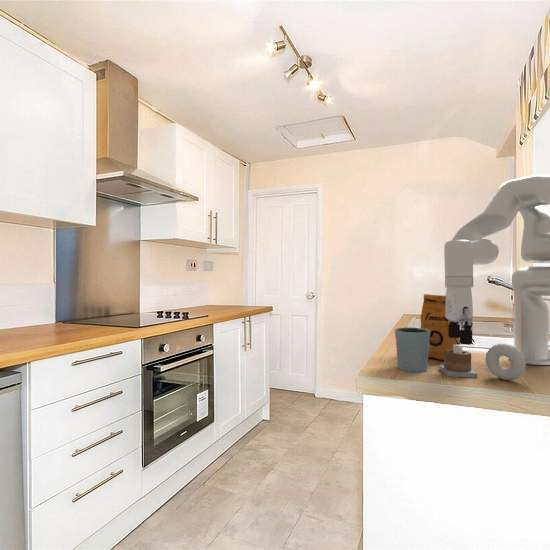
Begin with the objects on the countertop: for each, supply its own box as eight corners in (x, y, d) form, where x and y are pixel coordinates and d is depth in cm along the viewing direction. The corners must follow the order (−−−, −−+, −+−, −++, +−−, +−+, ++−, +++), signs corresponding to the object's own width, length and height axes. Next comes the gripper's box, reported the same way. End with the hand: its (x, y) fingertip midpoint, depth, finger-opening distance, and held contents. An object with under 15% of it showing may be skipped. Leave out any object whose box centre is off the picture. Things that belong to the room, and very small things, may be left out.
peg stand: (466, 370, 116) (467, 343, 116) (477, 377, 108) (477, 348, 108) (439, 369, 117) (439, 342, 117) (447, 376, 109) (447, 347, 109)
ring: (442, 365, 116) (442, 349, 116) (465, 366, 116) (465, 350, 115) (449, 371, 110) (449, 353, 110) (473, 372, 109) (473, 354, 109)
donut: (483, 376, 109) (483, 341, 109) (488, 375, 111) (489, 340, 111) (522, 385, 101) (522, 347, 101) (527, 383, 103) (528, 345, 103)
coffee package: (452, 364, 124) (453, 295, 124) (416, 357, 133) (416, 294, 133) (465, 359, 131) (465, 294, 131) (429, 353, 140) (430, 293, 140)
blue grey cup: (432, 367, 119) (432, 329, 119) (426, 375, 110) (427, 333, 110) (398, 363, 124) (399, 326, 124) (390, 370, 116) (391, 330, 116)
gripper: (436, 281, 121) (437, 335, 122) (455, 284, 104) (456, 347, 105) (461, 280, 121) (462, 335, 121) (484, 283, 103) (485, 347, 104)
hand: (459, 340), depth 113 cm, fingers open, 9 cm apart
